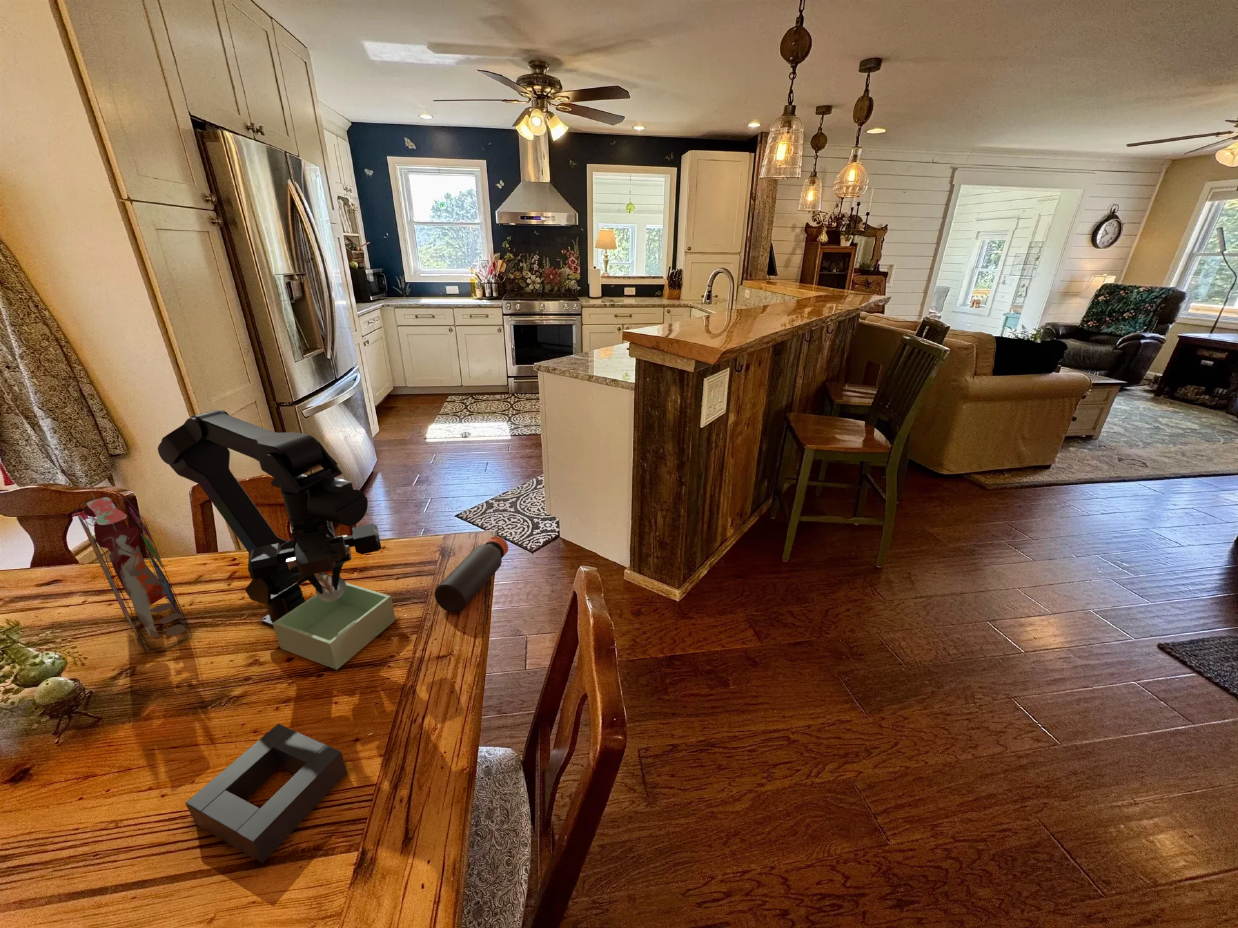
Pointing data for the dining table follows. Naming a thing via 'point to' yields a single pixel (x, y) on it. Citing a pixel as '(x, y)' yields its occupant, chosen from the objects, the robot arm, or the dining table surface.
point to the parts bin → (335, 625)
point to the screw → (330, 588)
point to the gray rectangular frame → (272, 823)
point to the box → (131, 565)
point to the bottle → (470, 575)
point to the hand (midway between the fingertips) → (328, 590)
